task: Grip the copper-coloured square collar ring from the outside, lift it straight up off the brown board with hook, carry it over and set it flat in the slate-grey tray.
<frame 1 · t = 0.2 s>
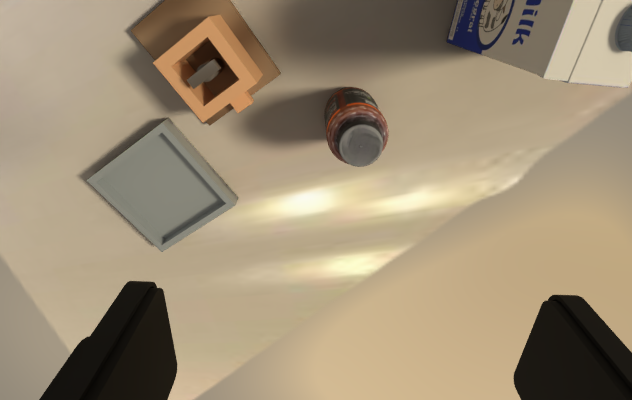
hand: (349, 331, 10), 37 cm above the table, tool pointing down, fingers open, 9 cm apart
ring: (216, 65, 41), point 1 cm above the table, touching brown board with hook
milk carton: (487, 11, 39), on the table
tray: (167, 185, 48), on the table
supplement bottle: (350, 112, 44), on the table
brown board with hook: (209, 51, 41), on the table
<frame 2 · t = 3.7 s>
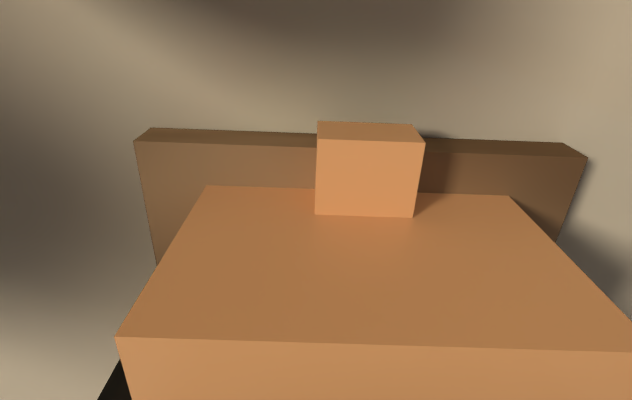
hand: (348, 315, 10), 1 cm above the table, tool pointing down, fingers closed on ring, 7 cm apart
ring: (347, 305, 10), point 1 cm above the table, touching gripper, brown board with hook
brown board with hook: (341, 319, 12), on the table
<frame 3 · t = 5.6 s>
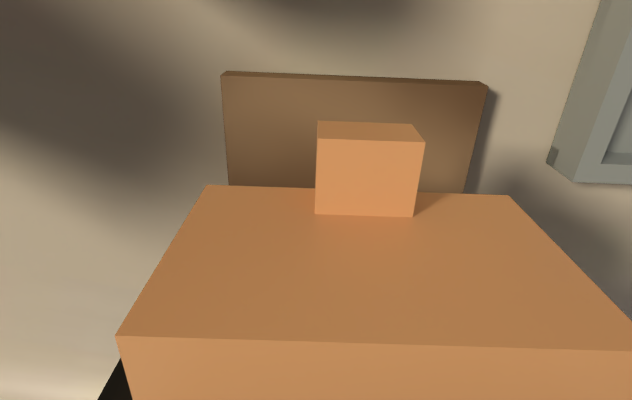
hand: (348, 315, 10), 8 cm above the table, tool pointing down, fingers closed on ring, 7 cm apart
ring: (347, 305, 11), point 8 cm above the table, touching gripper
brown board with hook: (342, 208, 18), on the table
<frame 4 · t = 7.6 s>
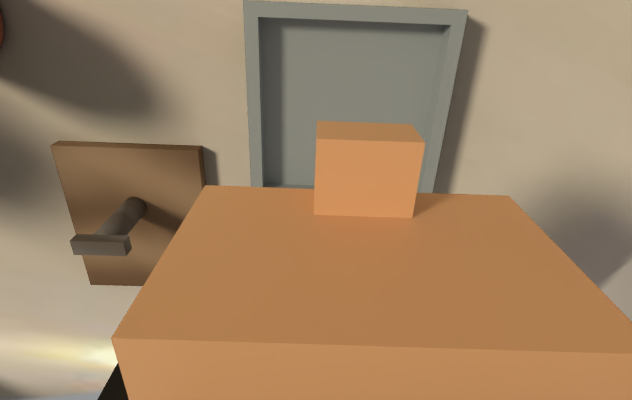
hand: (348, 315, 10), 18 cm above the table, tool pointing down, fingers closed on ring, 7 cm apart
ring: (346, 306, 10), point 18 cm above the table, touching gripper
tray: (345, 109, 26), on the table
brown board with hook: (144, 217, 30), on the table
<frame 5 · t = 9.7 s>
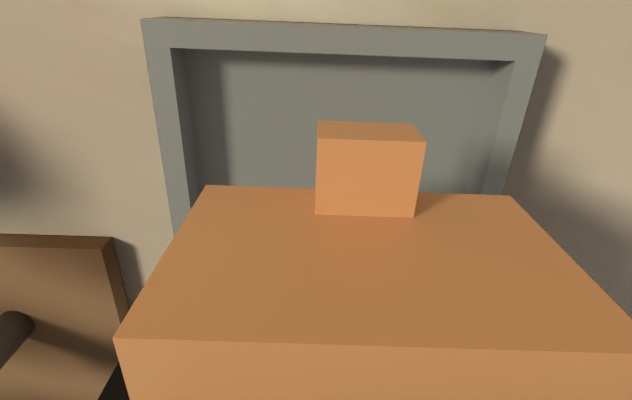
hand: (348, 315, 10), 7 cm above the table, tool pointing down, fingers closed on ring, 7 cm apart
ring: (347, 306, 10), point 7 cm above the table, touching gripper
tray: (332, 184, 16), on the table
brown board with hook: (39, 330, 20), on the table
when the fingers open (2 cm above the table, at t = 11.6 s): ring drops 2 cm, resting on tray.
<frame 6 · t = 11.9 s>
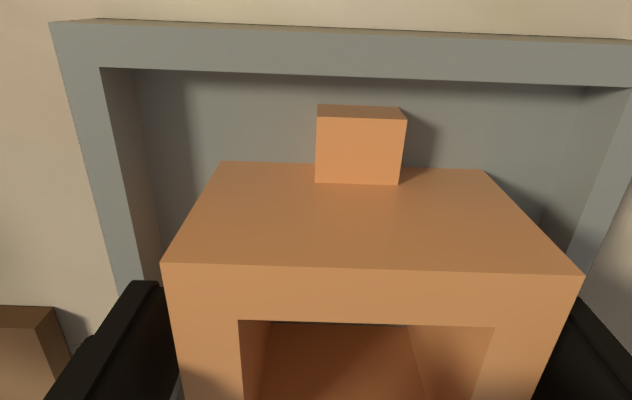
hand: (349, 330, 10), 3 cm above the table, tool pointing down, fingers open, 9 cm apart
ring: (343, 270, 12), point 1 cm above the table, touching tray
tray: (343, 245, 12), on the table
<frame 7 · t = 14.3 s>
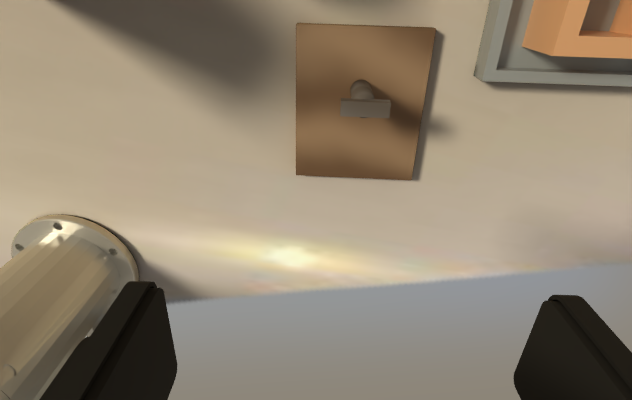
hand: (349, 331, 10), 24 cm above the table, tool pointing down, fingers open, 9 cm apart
brown board with hook: (358, 105, 31), on the table
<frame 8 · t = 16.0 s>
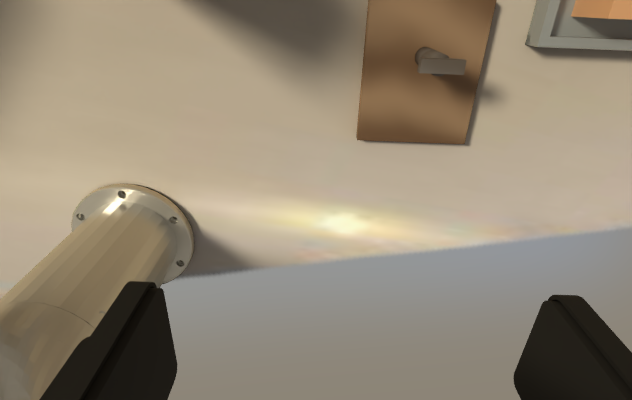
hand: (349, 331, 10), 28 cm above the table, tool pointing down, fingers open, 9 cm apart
brown board with hook: (418, 73, 34), on the table
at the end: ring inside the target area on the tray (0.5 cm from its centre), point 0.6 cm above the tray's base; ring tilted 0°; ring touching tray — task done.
